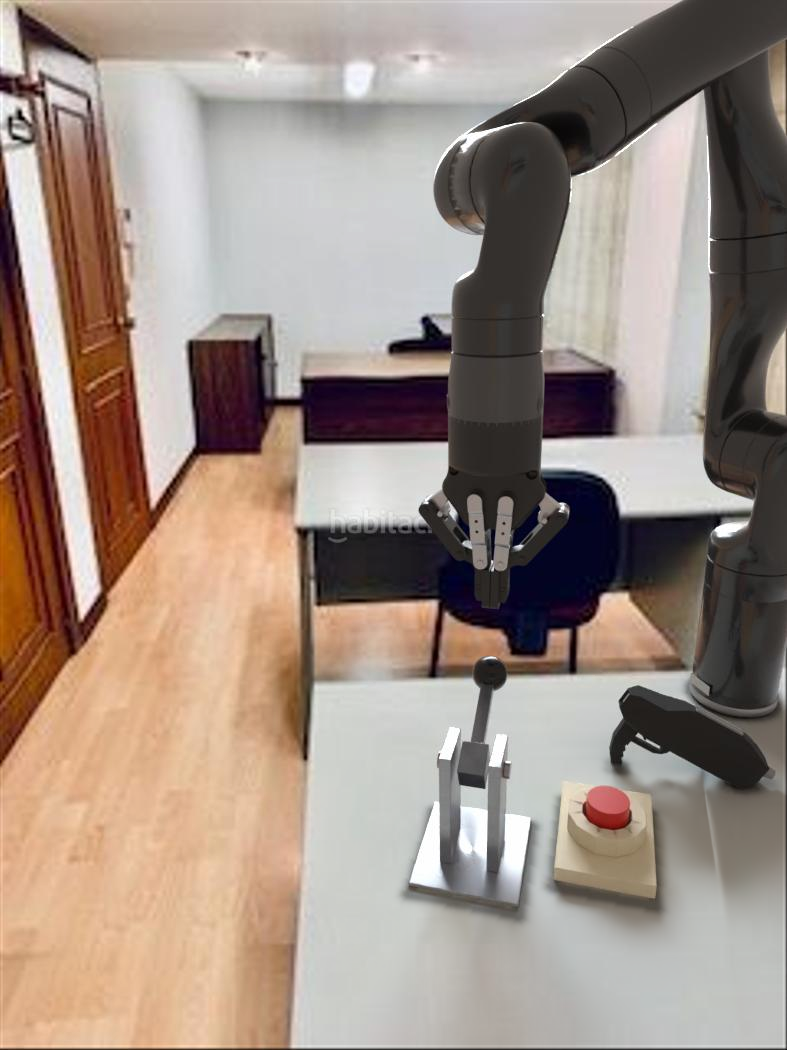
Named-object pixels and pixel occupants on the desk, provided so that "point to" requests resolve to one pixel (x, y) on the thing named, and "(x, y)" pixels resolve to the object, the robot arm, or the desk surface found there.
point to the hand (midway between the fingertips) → (491, 604)
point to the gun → (688, 737)
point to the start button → (607, 807)
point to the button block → (606, 846)
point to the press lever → (481, 723)
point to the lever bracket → (473, 834)
